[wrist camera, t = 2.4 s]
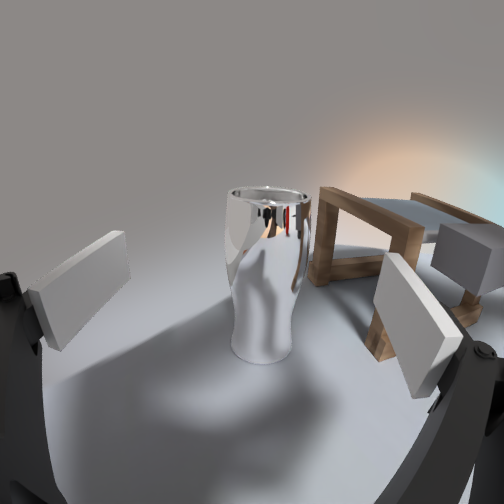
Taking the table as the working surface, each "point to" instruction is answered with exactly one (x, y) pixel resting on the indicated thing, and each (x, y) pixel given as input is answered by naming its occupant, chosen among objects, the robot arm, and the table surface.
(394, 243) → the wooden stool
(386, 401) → the table surface
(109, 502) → the table surface
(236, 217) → the beer glass
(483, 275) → the trapdoor
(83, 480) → the table surface
